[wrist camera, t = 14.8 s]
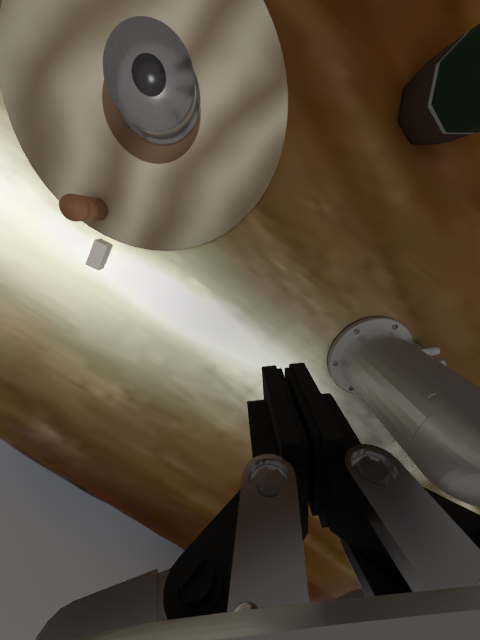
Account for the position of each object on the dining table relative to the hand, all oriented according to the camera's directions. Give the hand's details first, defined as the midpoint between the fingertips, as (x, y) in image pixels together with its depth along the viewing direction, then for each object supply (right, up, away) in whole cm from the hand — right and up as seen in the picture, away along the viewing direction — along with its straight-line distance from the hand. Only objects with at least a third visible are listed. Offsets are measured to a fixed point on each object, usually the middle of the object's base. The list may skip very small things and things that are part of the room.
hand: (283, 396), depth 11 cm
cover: (-9, +24, +14) cm, 29 cm away
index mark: (-18, +11, +20) cm, 29 cm away
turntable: (-10, +24, +15) cm, 30 cm away
